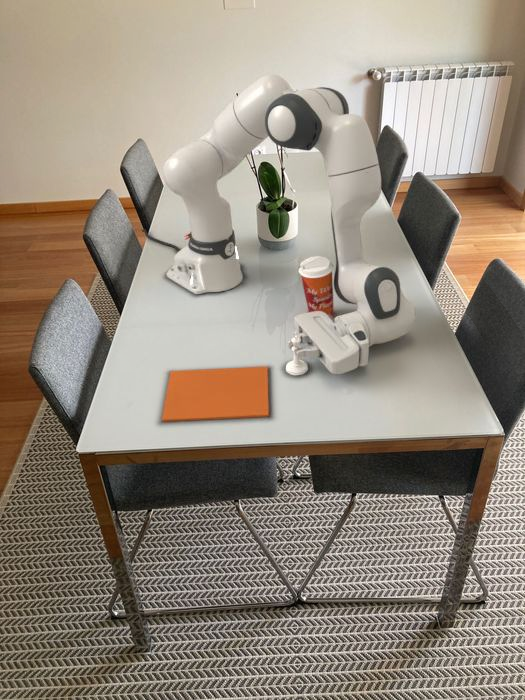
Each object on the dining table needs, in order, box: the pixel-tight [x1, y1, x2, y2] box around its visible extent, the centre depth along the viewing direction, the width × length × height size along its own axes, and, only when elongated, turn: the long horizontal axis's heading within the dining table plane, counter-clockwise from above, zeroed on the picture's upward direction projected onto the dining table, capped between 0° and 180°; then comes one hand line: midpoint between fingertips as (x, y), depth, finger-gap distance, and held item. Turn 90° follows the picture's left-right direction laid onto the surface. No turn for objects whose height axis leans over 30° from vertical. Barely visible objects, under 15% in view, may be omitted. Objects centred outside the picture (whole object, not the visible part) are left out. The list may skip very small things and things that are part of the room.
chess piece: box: [285, 331, 309, 376], centre depth 132 cm, size 5×5×10 cm
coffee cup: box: [298, 255, 334, 318], centre depth 147 cm, size 8×8×15 cm
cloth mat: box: [161, 366, 270, 422], centre depth 129 cm, size 22×16×1 cm
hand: (292, 350), depth 131 cm, fingers closed on chess piece
